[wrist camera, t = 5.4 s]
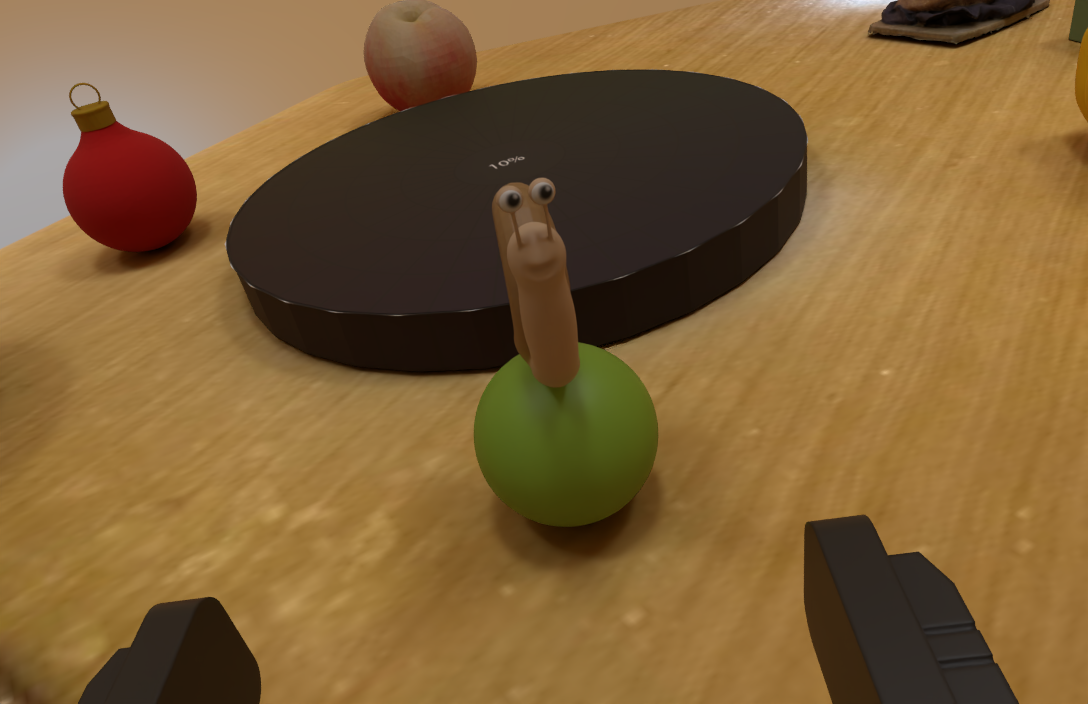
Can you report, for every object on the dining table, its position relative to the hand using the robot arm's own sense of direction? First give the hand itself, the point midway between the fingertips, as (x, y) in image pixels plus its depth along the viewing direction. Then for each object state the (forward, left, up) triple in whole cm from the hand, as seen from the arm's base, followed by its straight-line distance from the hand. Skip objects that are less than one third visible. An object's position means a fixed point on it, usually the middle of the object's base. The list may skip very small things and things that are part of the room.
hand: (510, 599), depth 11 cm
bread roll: (+46, -40, -9) cm, 61 cm away
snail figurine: (+10, -2, -9) cm, 14 cm away
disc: (+33, -5, -9) cm, 35 cm away
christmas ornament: (+42, +17, -9) cm, 46 cm away
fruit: (+56, -2, -9) cm, 57 cm away
